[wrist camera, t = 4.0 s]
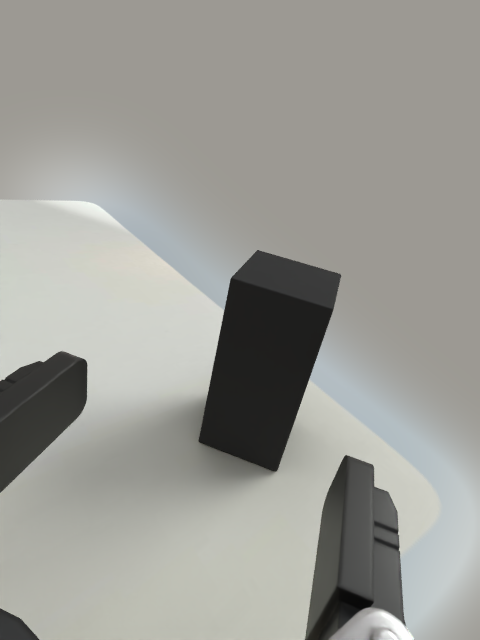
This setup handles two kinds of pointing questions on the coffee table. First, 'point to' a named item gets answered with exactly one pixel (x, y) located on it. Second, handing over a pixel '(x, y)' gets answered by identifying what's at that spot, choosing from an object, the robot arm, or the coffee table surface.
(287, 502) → the coffee table surface
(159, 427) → the coffee table surface
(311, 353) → the tall black rectangular block
